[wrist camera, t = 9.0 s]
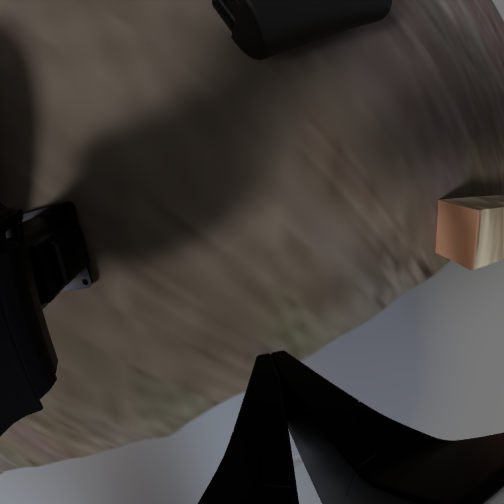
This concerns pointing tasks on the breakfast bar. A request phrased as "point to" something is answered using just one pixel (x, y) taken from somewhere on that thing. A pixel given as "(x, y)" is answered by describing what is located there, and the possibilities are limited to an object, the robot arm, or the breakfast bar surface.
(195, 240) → the breakfast bar surface
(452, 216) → the beech block
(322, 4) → the end cap
